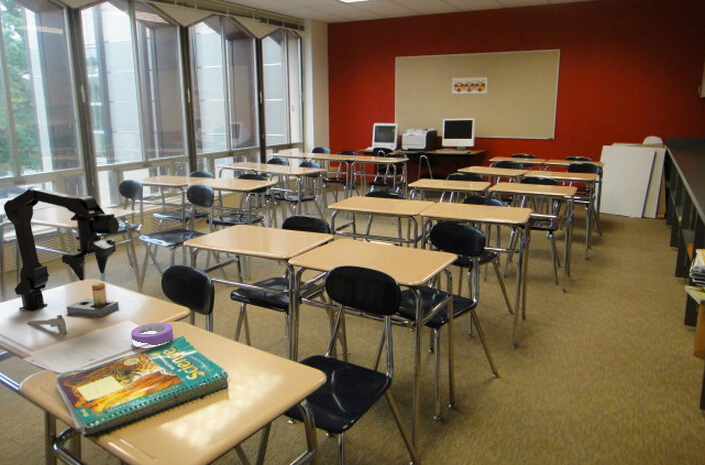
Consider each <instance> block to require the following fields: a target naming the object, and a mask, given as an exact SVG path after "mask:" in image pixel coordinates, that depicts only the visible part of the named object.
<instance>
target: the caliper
mask: <svg viewBox="0 0 705 465" xmlns="http://www.w3.org/2000/svg"><path fill="white" fill-rule="evenodd" d="M27 324H30V325H33V326H35V325H36V326H38V325H41V326H44V325H45V326H47V325H48V326H50V327H51V328H55V327H56V329H57V330H58V333H59V334H63V335H65V334H67V332H68V331H67V325H66V321H65V318H63V314H58V315H56V317H54V318H52V317H51V318H49V319H29V321H28V322H27Z"/></svg>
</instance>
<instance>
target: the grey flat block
mask: <svg viewBox="0 0 705 465" xmlns="http://www.w3.org/2000/svg"><path fill="white" fill-rule="evenodd" d="M106 301H107V306H105V307H103V308H95V307H94V299H93V298H84V299H82V300H80V301H77V302H75V303H72V304H70V305H67V306H66V312H67V314H69V315H77V316H86V317H92V318H95V317H96V318H102V317H104V316H106V315H108V314H110V313H113V312H114V311H116V310H119V308H120V306H119V301H114V300H106Z"/></svg>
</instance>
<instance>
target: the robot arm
mask: <svg viewBox="0 0 705 465" xmlns="http://www.w3.org/2000/svg"><path fill="white" fill-rule="evenodd" d="M39 202H40V203H45V204H49V205H55V206H58V207H62V208H65V209H67V210H68V211H69V212H71V213H73V214H74V215H73V216H72V217H71V218H70V221H76V224H77V225H76V226H77V232H78V234H77V235H78V236H75V240H76V241H78V242H79V244H78V245H79V247H78V248H76V250H77V251H71V252H66V253H63V255H61V263H65V265H68V266H69V267H70V268H71V269H72V271H73V272H74V274H76V277H77V278H78V280H80V281H84V279H85V277H84V276H85V275H84V273H85V272H84V265H85V264H86V261H85V259H86V258H87V257H90V256H93V255H94V256H95V259H96V264H97V266H98V270H99V273H100V274H104V273H105V269H106V267H107V262H108V259H109V258H110V257H111V256H112V255H113V254H114V253H115V252H117V251H116V248H117V247H116V242H115V239H113V238H110V239H107V240H102V237H101V235H100V234H103V235H115V234H118V231H119V228H120V223H119V221H118V219H117V218H116V217H115V214H114V213H107V214H106V213H105V211H104V210H103V208H101V207H100V205H99V204H98V202H97V200H96V198H95V197H94V196H92V195H82V194H81V195H72V194H71V195H70V194H65V193H62V192H61V193H60V192H57V191H53V190H48V189H46V188H42V187H31V188H28V189H27V190H25V191H23V193H20V195H17V196H16V197H13V199H9V200H7V201H6V202H5V203H4V204H3V209H4V214H5V215H6V217H7V219H8V221H10V223H11V224H12V225H13V226H14V230H15V231H14V232H15V235H16V240H17V244H18V249H19V254H20V257H21V262H22V263H21V264H22V266H21V270H20V273H19V278H20V282H19V283H18V284H17V285H16V286H15V288H14V292H15V294H16V295H17V296H18V295H19V296H21V302H22V306H20V307H18V308H19V309H18V310H20V309H25V310H24V311H28V310H30V312H33V311H36V310H40V309H41V308H44V307H46V306H48V303H45V301H44V295H43V291H42V289H45V288H46V285H47V283H48V282H49V281H48V280H49V277H50V274H49V272H48V267H47V265H43V264H41V263H40V261H39V256H38V251H37V247H36V242H35V238H34V233H33V230H32V229H33V228H32V224H31V223H32V222H31V221H32V219H33V216H34V208H35V206H36V205H38V204H39Z"/></svg>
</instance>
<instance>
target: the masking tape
mask: <svg viewBox="0 0 705 465" xmlns="http://www.w3.org/2000/svg"><path fill="white" fill-rule="evenodd" d="M148 331H156V332H158V333H155V334H141V333H144V332H148ZM130 334H131V335H130V336H131V340H132V339H133V340H135V341H137V342H141V343H148V344H151V345H158V344H162V343H165V342H168V341H170V340H172V339H173V340H174V332H173V326H172V324H171V323H168V322H151V323H146V324H142V325H139V326H137V327H134V328H133V329H132V330H131V332H130ZM173 340H172V341H173Z"/></svg>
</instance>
